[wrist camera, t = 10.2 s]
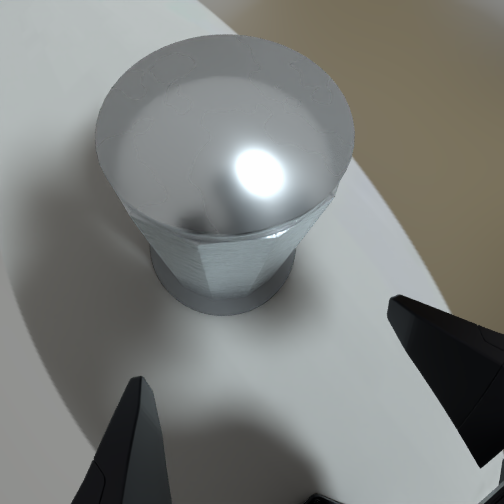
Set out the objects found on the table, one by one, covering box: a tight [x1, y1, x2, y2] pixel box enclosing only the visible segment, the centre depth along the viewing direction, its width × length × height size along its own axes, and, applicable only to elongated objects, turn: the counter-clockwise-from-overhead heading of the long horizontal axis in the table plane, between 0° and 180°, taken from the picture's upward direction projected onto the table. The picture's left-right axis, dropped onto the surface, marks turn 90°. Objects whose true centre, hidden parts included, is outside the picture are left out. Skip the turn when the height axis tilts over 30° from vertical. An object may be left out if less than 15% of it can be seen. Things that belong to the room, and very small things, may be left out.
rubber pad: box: [150, 244, 296, 316], centre depth 19 cm, size 9×9×1 cm
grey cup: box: [95, 35, 355, 301], centre depth 13 cm, size 7×7×12 cm
